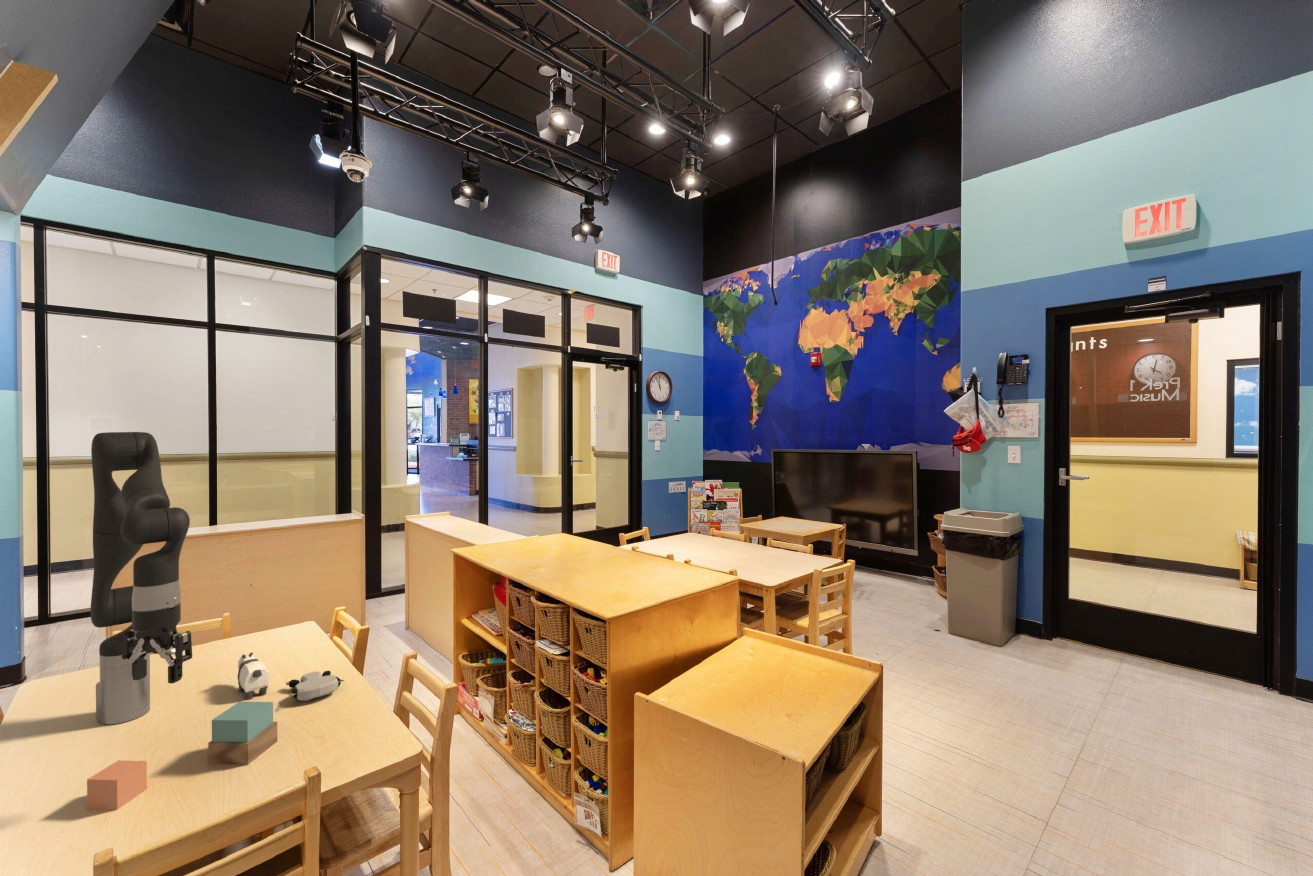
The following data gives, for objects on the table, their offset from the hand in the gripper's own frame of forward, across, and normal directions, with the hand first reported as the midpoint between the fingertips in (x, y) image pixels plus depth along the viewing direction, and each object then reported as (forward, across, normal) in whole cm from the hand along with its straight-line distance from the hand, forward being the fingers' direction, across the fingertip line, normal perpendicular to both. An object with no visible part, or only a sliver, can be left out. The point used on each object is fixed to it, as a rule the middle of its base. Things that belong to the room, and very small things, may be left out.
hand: (157, 680), depth 113 cm
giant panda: (+22, -15, +37) cm, 46 cm away
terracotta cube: (+22, -3, -6) cm, 23 cm away
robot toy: (+22, +3, +40) cm, 45 cm away
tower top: (+17, +8, +12) cm, 22 cm away
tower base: (+22, +8, +12) cm, 26 cm away
